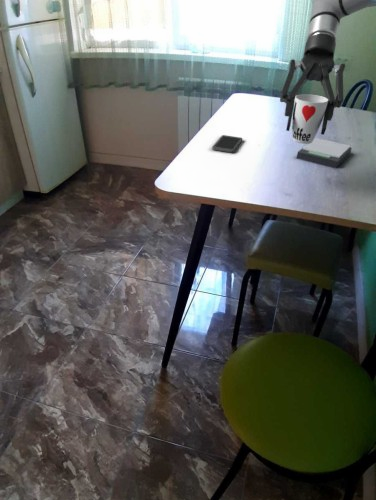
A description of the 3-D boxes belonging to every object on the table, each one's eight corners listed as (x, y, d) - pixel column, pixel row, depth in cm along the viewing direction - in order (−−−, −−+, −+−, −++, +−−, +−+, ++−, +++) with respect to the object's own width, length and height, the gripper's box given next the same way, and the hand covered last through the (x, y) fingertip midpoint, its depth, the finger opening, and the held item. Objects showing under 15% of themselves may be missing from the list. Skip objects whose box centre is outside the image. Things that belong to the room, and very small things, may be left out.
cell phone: (242, 140, 142) (243, 137, 141) (233, 153, 132) (233, 150, 131) (222, 136, 143) (222, 134, 143) (211, 149, 133) (211, 147, 133)
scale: (349, 154, 136) (352, 146, 134) (335, 168, 126) (338, 159, 125) (312, 145, 141) (314, 137, 139) (296, 158, 131) (298, 149, 129)
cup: (281, 139, 109) (288, 97, 102) (299, 133, 113) (307, 92, 106) (306, 148, 104) (316, 104, 98) (324, 141, 109) (334, 99, 102)
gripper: (358, 57, 107) (344, 141, 106) (278, 50, 109) (263, 133, 109) (367, 34, 99) (352, 125, 99) (280, 28, 102) (265, 117, 101)
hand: (305, 129), depth 104 cm, fingers closed on cup, 8 cm apart
